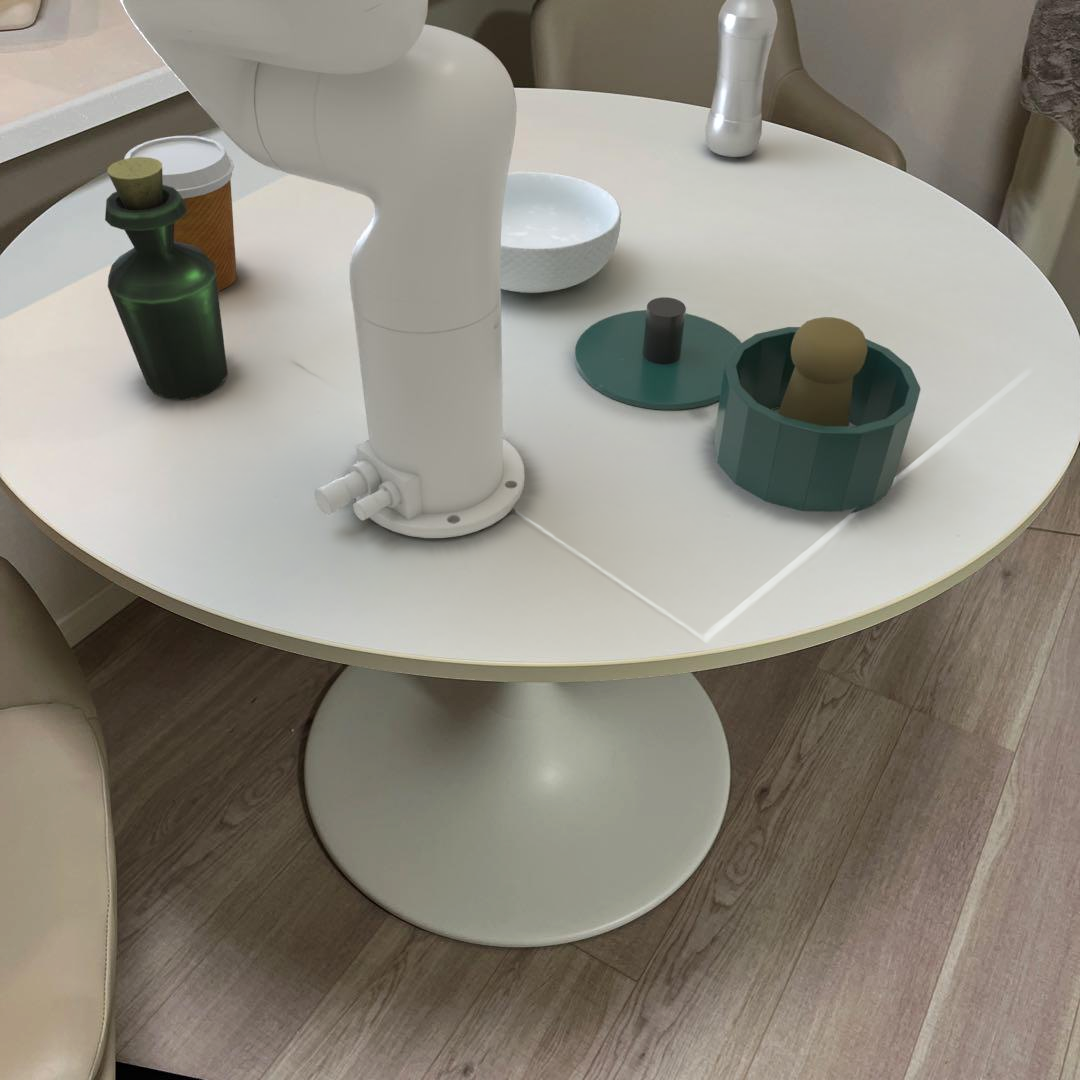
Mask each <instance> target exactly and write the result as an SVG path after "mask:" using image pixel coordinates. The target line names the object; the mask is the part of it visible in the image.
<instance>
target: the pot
mask: <svg viewBox="0 0 1080 1080" xmlns="http://www.w3.org/2000/svg"><path fill="white" fill-rule="evenodd" d="M800 327H801V326H787V327H786V326H785V327H780V328H776V329H772V330H767V331H764V332H763V331H762V332H758V333H756V334H754V335H752V336H750V337H749V338H747V339H745V340H744V341H742V342H741V343H740V344H739V345H737V346H736V347H735V348H734V349H733V351H732V353H731V355H730V357H729V359H728V361H727V362H726V364H725V368H724V375H723V381H722V388H721V394H720V401H718V408H717V415H716V421H715V428H714V433H713V434H714V435H713V441H712V444H713V448H714V454H715V458H716V463H717V464H718V466H719V467H720V468H721V469H722V470H723V471H724V472H725V474H726V475H727V476H728V477H729V479H731V480H732V482H733V483H734V484H735V485H736V486H737V487H740V488H741V489H743V490H745V491H747V492H748V493H750V494H752V495H753V496H755V497H757V498H759V499H760V500H762V501H764V502H765V503H766V502H767V503H770V504H772V505H773V504H774V505H777V506H782V507H786V508H789V509H792V510H795V511H796V510H797V511H801V512H843V511H848V510H851V509H854V510H852V511H851V512H850V514H853V513H854V514H855V513H857V512H861V511H863V510H865V509H868V508H870V507H872V506H874V505H876V503H878V502H879V501H880V500H881V499H882V498H884V497H885V496H886V495H887V494H888V492H889V491H890V489H891V487H892V486H893V483H894V480H895V477H896V475H897V474H896V473H897V470H898V467H899V464H900V461H901V457H902V455H903V451H904V448H905V445H906V441H907V439H908V438H907V437H908V435H909V432H910V428H911V425H912V421H913V418H914V416H915V412H916V409H917V404H918V402H919V397H920V394H921V390H922V389H921V386H920V383H919V382H918V380H917V378H916V376H915V375H916V374H915V373H914V371H913V368H912V367H911V366H910V365H909V364H908V363H906V361H904V360H903V359H902V358H901V357H899V356H898V355H897V354H896V353H894V352H893V351H892V350H891V349H890V348H887V346H883V345H881V344H879V343H876V342H874V341H872V340H870V339H867V338H865V339H866V342H867V354H866V358H865V361H864V364H863V366H862V368H861V369H860V371H859V372H858V373H857V374H856V375H854V376H853V383H852V394H851V404H850V415H849V423H851V424H853V425H855V426H850V425H849V426H820V425H815V424H811V423H807V422H803V421H799V420H794V419H790V418H786V417H784V416H782V415H780V414H778V412H776V411H774V410H772V409H775V408H776V409H777V408H778V409H780V406H781V403H782V401H783V398H784V395H785V393H786V390H787V387H788V384H789V382H790V379H791V376H792V373H793V371H794V368H795V365H794V364H793V361H792V357H791V345H792V341H793V338H794V335H795V333H796V332H797V330H798V329H799V328H800Z"/></svg>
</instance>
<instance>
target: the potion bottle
mask: <svg viewBox="0 0 1080 1080" xmlns="http://www.w3.org/2000/svg"><path fill="white" fill-rule="evenodd" d="M106 172H107V175H108V177H109V178H110V180H111V183H112V184H113V186H114V189H115V192H112V193H111V194H110V195H109V196H108V197H107V198H106V201H105V215H104V221H105V222H106V223H107V224H108V225H109V226H111V227H113V228H116V229H119V230H123V231H124V232H125V234H126V236H127V237H128V239H129V241H130V242H131V245H132V246H133V247H132V248H131V249H129V250H128V251H125V253H123V254H121V255H119V257H118V258H117V259H116V260H114V262H113V263H112V264H111V267H110V269H109V273H108V276H107V288H108V292H109V293H110V296H111V299H112V300H113V303H114V306H115V308H116V311H117V314H118V317H119V318H120V321H121V324H122V326H123V329H124V331H125V334H126V336H127V339H128V341H129V343H130V346H131V348H132V351H133V353H134V356H135V358H136V361H137V363H138V366H139V369H140V372H141V374H142V376H143V378H144V380H145V384H146V386H147V387H148V388H149V389H150V390H151V392H153V393H154V394H156V395H158V396H161V397H163V398H166V399H170V400H189V399H197V398H199V397H202V396H205V395H208V394H211V393H212V392H213V391H215V390H216V389H218V388H219V387H220V386H221V385H222V384H223V382H224V381H225V379H226V378H227V376H228V366H227V357H226V348H225V339H224V330H223V323H222V322H223V321H222V314H221V306H220V297H219V291H218V288H217V279H216V271H215V265H214V263H213V262H212V261H211V260H210V259H209V258H208V257H207V256H206V255H205V254H204V253H203V252H202V251H201V250H200V249H199V248H196V247H193V246H190V245H187V244H184V243H179V242H175V241H174V222H176V221H178V220H180V219H181V218H182V217H183V216H184V215H185V213H186V212H187V205H186V204H185V202H184V200H183V199H182V197H181V195H180V194H179V192H178V191H177V190H175V189H174V188H173V187H169V186H166V185H163V177H162V163H161V162H160V161H159V160H157V159H153V158H148V157H136V158H128V159H120V160H118V161H116V162H113V163H112V164H111V165H110V166H109V167H107V171H106Z"/></svg>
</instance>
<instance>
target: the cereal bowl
mask: <svg viewBox="0 0 1080 1080" xmlns="http://www.w3.org/2000/svg"><path fill="white" fill-rule="evenodd" d="M621 223H622V210H621V206H620V204H619V202H618V201H617V199H616V198H615V197H614V196H613V195H612V194H611V193H610V192H608V191H607V190H606V189H604V188H602V187H601V186H599V185H597V184H595V183H592V182H590V181H587V180H584V179H581V178H578V177H574V176H570V175H565V174H560V173H553V172H543V171H513V172H508V176H507V182H506V189H505V196H504V205H503V214H502V230H501V290H503V291H510V292H515V293H522V294H540V293H548V292H554V291H560V290H563V289H564V290H565V289H567V288H571V287H574V286H577V285H579V284H581V283H583V282H585V281H587V280H590V279H591V278H592V277H593V276H595V275H597V274H598V272H600V271H601V270H602V269H603V268H604V267H605V266H606V265H607V263H609V261H610V259H611V258H612V256H613V253H615V250H616V246H617V245H618V240H619V237H620V231H621Z"/></svg>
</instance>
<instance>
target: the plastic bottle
mask: <svg viewBox="0 0 1080 1080" xmlns="http://www.w3.org/2000/svg"><path fill="white" fill-rule="evenodd" d="M717 17H718V19H717V44H718V45H717V47H718V49H717V50H718V53H717V55H718V56H717V70H716V80H715V86H714V90H713V95H712V101H711V106H710V107H711V108H710V109H709V112H708V115H707V117H706V118H707V120H706V122H705V129H704V131H705V143H706V144H707V146H708V148H709V150H710V151H711V152H713V153H714V154H717V155H720V156H723V157H729V158H741V157H747V156H750V155H751V154H752V153H754V151H755V150H756V149H757V148H758V145H759V144H760V141H761V137H762V135H763V134H762V133H763V115H762V103H763V90H764V89H763V88H764V81H765V75H766V74H765V72H766V71H767V65H768V59H769V55H770V51H771V48H772V44H773V41H774V39H775V38H774V37H775V34H776V31H777V26H778V13H777V8H776V6H775V3H774V1H773V0H725V2H724V3H723V4H722V5H721V8H720V11H719V12H718V16H717Z"/></svg>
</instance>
